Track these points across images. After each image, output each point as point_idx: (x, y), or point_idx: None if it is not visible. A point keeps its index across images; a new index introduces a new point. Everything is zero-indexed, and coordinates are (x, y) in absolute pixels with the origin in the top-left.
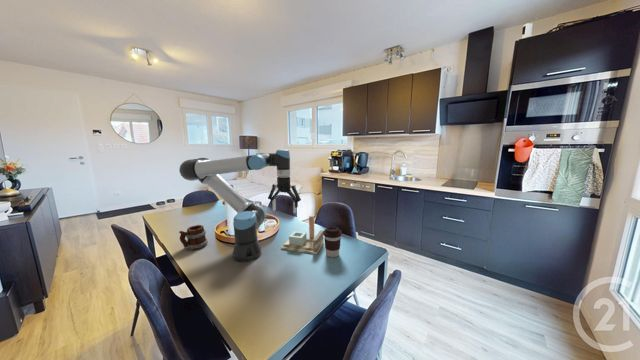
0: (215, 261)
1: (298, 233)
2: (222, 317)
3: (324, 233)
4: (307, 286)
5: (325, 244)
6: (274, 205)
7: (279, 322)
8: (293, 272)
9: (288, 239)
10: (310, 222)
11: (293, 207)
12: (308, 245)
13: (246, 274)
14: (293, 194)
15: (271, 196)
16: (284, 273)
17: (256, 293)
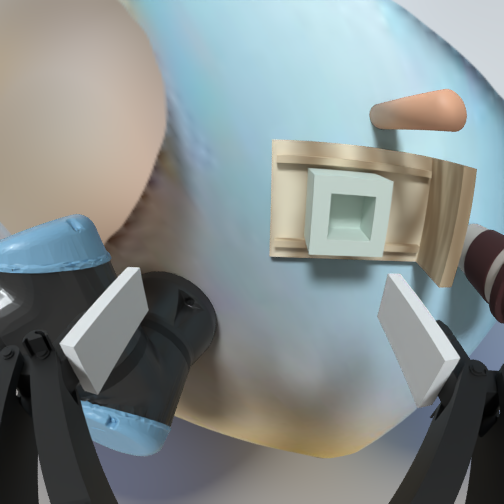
0: None
1: (347, 193)
2: (272, 445)
3: (495, 315)
4: (398, 384)
5: (473, 283)
6: (119, 327)
7: (357, 436)
8: (362, 360)
9: (272, 171)
10: (426, 128)
11: (397, 359)
12: (391, 213)
13: (239, 387)
14: (463, 472)
15: (16, 376)
16: (338, 368)
17: (298, 417)
